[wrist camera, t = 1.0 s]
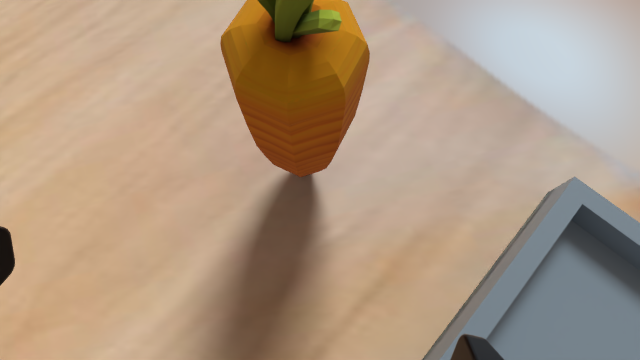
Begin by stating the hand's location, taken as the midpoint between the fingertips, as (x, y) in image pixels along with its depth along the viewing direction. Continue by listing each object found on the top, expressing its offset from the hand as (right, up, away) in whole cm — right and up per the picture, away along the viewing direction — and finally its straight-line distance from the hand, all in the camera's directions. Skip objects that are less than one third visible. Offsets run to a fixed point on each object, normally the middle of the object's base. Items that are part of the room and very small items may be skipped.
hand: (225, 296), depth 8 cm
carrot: (+1, +3, +15) cm, 16 cm away
